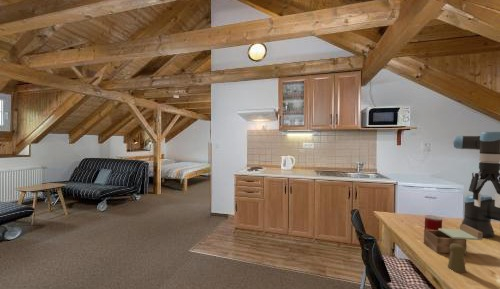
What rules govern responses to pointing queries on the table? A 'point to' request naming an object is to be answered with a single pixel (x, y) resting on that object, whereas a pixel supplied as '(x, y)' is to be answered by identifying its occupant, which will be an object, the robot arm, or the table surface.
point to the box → (441, 241)
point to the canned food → (432, 222)
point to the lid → (463, 233)
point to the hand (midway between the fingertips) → (487, 206)
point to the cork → (457, 258)
